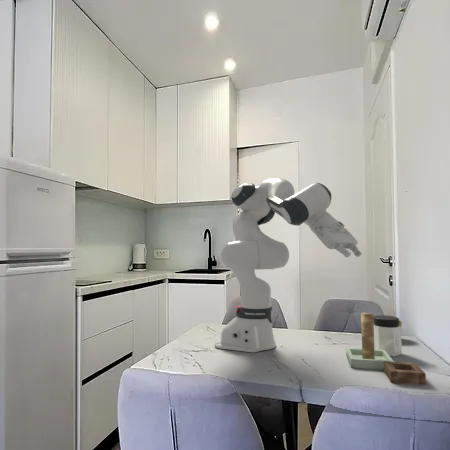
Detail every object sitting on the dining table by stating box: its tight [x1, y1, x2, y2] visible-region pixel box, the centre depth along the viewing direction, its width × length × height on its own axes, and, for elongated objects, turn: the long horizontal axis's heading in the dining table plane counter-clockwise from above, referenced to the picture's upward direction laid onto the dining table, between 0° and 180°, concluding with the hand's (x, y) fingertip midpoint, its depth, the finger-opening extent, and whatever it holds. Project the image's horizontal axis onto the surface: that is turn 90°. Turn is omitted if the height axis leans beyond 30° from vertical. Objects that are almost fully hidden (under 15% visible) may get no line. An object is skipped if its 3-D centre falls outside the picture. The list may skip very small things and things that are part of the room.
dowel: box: [360, 312, 375, 359], centre depth 109 cm, size 4×4×14 cm
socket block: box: [383, 361, 427, 386], centre depth 95 cm, size 8×8×3 cm
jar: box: [373, 314, 403, 358], centre depth 118 cm, size 9×8×12 cm
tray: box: [345, 347, 395, 371], centre depth 108 cm, size 12×12×2 cm
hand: (354, 255), depth 117 cm, fingers open, 8 cm apart
